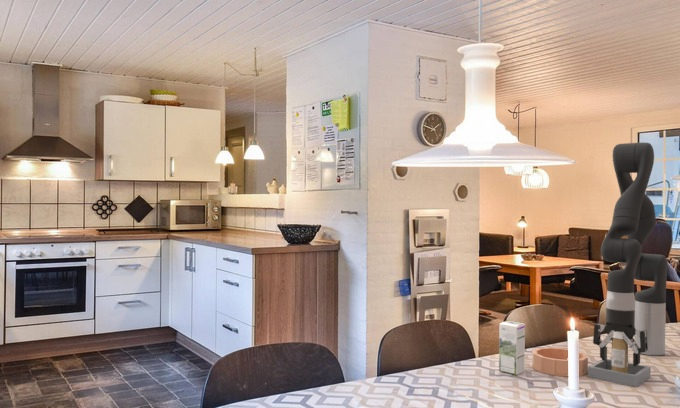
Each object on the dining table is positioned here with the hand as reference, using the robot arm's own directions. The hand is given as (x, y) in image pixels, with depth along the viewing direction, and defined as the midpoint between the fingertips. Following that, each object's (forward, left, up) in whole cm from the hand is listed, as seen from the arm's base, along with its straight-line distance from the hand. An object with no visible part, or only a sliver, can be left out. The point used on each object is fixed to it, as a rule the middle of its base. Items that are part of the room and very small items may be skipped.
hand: (619, 362), depth 171 cm
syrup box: (+17, -25, -4) cm, 31 cm away
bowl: (+4, -16, -4) cm, 17 cm away
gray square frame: (0, 0, -4) cm, 4 cm away
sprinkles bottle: (0, 0, -4) cm, 4 cm away
